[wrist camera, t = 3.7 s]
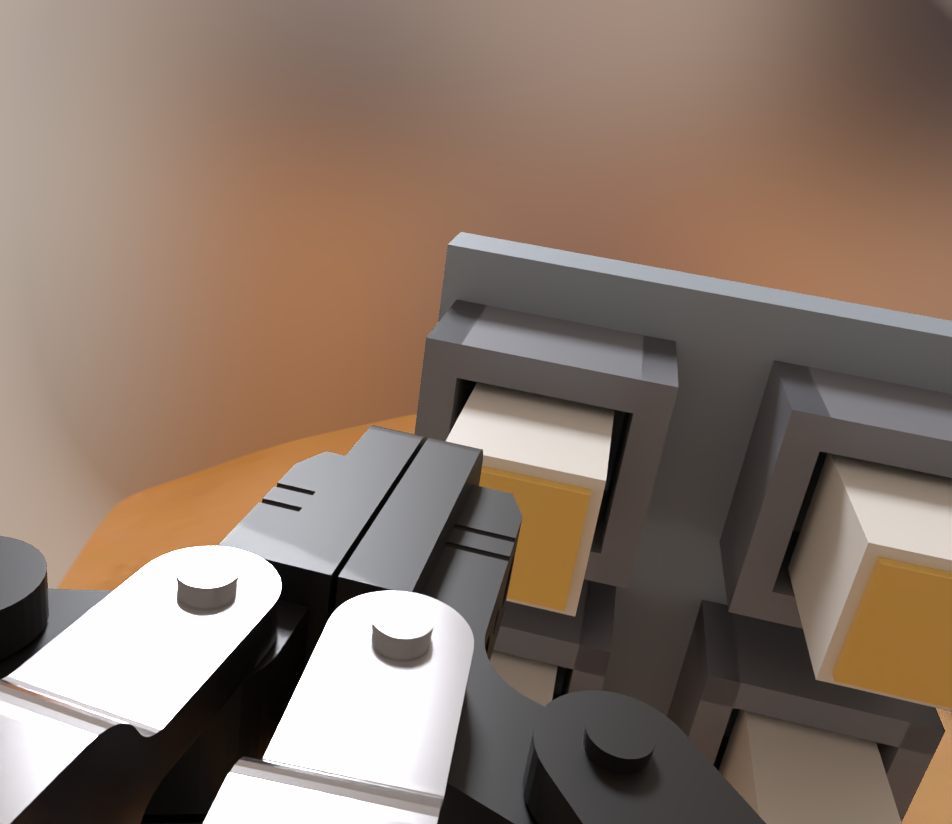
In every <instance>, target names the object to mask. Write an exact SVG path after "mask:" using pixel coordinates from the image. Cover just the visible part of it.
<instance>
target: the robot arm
mask: <svg viewBox="0 0 952 824" xmlns="http://www.w3.org/2000/svg"><path fill="white" fill-rule="evenodd" d="M482 463H483V449H478V448H474V447H469V446H465V445H460V444H456V443H451V442H447V441H442V440H437V439H433V438H428V439H427V438H426V437H423V436H419V435H414V434H410V433H405V432H401V431H396V430H392V429H387V428H383V427H378V426H374V425H373V426H371V427H370V428H369V429H368V430H367V431H366V432H365V434H364V435H363V436H362V437H361V438H360V440H359V441H358V442H357V443H356V444H355V446H354V447H353V448H352V449H351V450H350V451H349V453H348V454H347V455H346V456H344V455H339V454H335V453H331V452H326V451H325V452H323V453H321V454H318V455H316V456H313V457H311V458H309V459H306V460H304V461H301V462H299V463H297V464H295V465H294V466H293V467H292V468H291V469H290V470H289V471H288V472H287V473H286V474H285V476H284V477H283V478H282V479H281V480H280V481H279V482H278V484H277V487H273V488H272V489H271V490H270V491H269V492H268V493H267V494H266V495H265V497H264V498H263V500H262V503H260V502H259V503H258V504H257V505H256V506H255V507H254V508H253V509H252V510H251V511H250V512H249V513H248V514H247V515H246V517H245V518H244V519H243V520H242V521H241V522H240V523H239V524H238V525H237V526H236V527H235V528H234V529H233V530H232V531H231V532H230V533H229V534H228V535H227V536H226V538H225V539H224V540H223V541H222V542H221V543H220V544H219V545H218V546H204V547H193V548H186V549H182V550H178V551H174V552H171V553H168V554H165V555H162V556H160V557H158V558H156V559H154V560H153V561H151V562H150V563H148V564H147V565H145V566H144V567H143V568H141V569H140V570H139V571H138V572H136V573H135V574H134V575H133V576H132V577H130V578H129V579H128V580H127V581H125V582H124V583H123V584H122V585H120V586H119V587H118V588H117V589H115V590H114V591H102V590H73V589H48V583H47V565H46V560H45V558H44V556H43V555H42V553H41V552H40V551H39V550H38V549H36V548H35V547H34V546H32V545H30V544H28V543H26V542H24V541H21V540H17V539H14V538H9V537H3V536H0V824H766V823H765V822H764V821H763V820H762V818H761V817H760V816H759V815H758V814H757V813H756V812H755V811H754V810H753V809H752V807H751V806H750V805H749V804H748V803H747V802H746V801H745V800H744V799H743V797H742V796H741V795H740V794H739V793H738V792H737V791H736V790H735V789H734V788H733V786H732V785H731V784H730V783H729V782H728V781H727V780H726V779H725V778H724V776H723V775H722V774H721V773H720V772H719V771H718V770H717V769H716V768H715V767H714V765H713V764H712V763H711V762H710V761H709V760H708V759H707V758H706V757H705V755H704V754H703V753H702V752H701V751H700V750H699V749H698V748H697V747H696V746H695V744H694V743H693V742H692V741H691V740H690V739H689V738H688V737H687V736H686V734H685V733H684V732H683V731H682V730H681V729H680V728H679V727H678V726H677V725H676V724H675V723H674V722H673V721H672V720H670V719H669V718H668V717H666V716H665V715H664V714H663V713H661V712H660V711H658V710H656V709H655V708H653V707H651V706H650V705H648V704H646V703H644V702H641V701H639V700H637V699H635V698H632V697H629V696H626V695H623V694H618V693H614V692H609V691H599V690H584V691H577V692H571V693H568V694H565V695H562V696H560V697H558V698H556V699H554V700H553V701H551V702H550V703H549V704H548V705H546V706H545V707H544V706H542V705H540V704H539V703H537V702H535V701H533V700H531V699H529V698H528V697H526V696H524V695H523V694H521V693H519V692H518V691H516V690H515V689H514V688H513V687H511V686H510V685H509V684H507V683H506V682H505V681H504V680H503V679H502V678H501V677H500V676H499V674H498V673H497V672H496V670H495V669H494V668H493V666H492V665H491V663H490V659H491V655H492V652H493V649H494V645H495V641H496V638H497V635H498V632H499V628H500V625H501V621H502V618H503V615H504V610H505V604H506V599H507V594H508V589H509V584H510V579H511V573H512V568H513V563H514V558H515V553H516V548H517V542H518V537H519V532H520V527H521V522H522V517H523V516H522V514H521V511H520V509H519V507H518V505H517V502H516V500H515V498H514V496H513V494H512V493H508V492H503V491H499V490H494V489H490V488H486V487H481V486H479V482H480V476H481V470H482Z"/></svg>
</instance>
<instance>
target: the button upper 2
mask: <svg viewBox="0 0 952 824" xmlns="http://www.w3.org/2000/svg"><path fill="white" fill-rule="evenodd" d="M788 571H789V575H790V579H791V583H792V587H793V591H794V595H795V599H796V603H797V607H798V611H799V615H800V619H801V623H802V627H803V631H804V635H805V639H806V643H807V647H808V651H809V655H810V659H811V663H812V667H813V671H814V675H815V679H816V680H819V681H823V682H828V683H832V684H836V685H841V686H845V687H849V688H853V689H858V690H862V691H866V692H871V693H875V694H879V695H883V696H888V697H892V698H896V699H901V700H905V701H909V702H913V703H918V704H922V705H926V706H931V707H935V708H939V709H943V710H948V711H952V478H950V477H945V476H940V475H935V474H930V473H925V472H920V471H915V470H910V469H905V468H900V467H895V466H890V465H885V464H880V463H875V462H870V461H866V460H861V459H856V458H851V457H846V456H841V455H836V454H831V453H827V456H826V458H825V461H824V464H823V467H822V470H821V473H820V476H819V479H818V482H817V485H816V488H815V491H814V493H813V496H812V499H811V502H810V505H809V508H808V511H807V514H806V517H805V520H804V523H803V525H802V528H801V531H800V534H799V537H798V540H797V543H796V546H795V549H794V552H793V555H792V557H791V560H790V563H789V566H788Z"/></svg>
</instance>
